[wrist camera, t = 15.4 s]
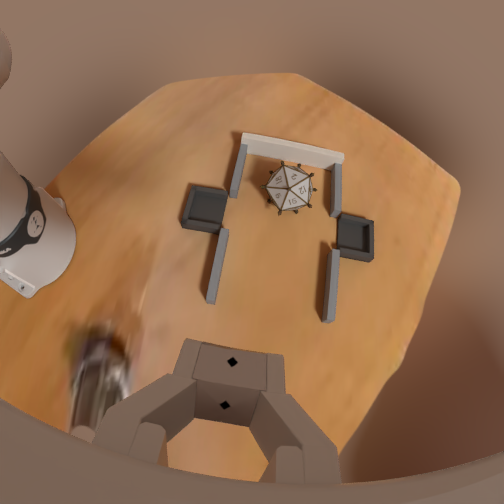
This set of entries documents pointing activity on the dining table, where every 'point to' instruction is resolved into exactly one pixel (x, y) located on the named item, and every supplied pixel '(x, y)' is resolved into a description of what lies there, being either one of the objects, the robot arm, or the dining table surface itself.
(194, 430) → the dining table surface
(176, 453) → the dining table surface
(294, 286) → the dining table surface
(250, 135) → the trap lane
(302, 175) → the game die
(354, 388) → the dining table surface
